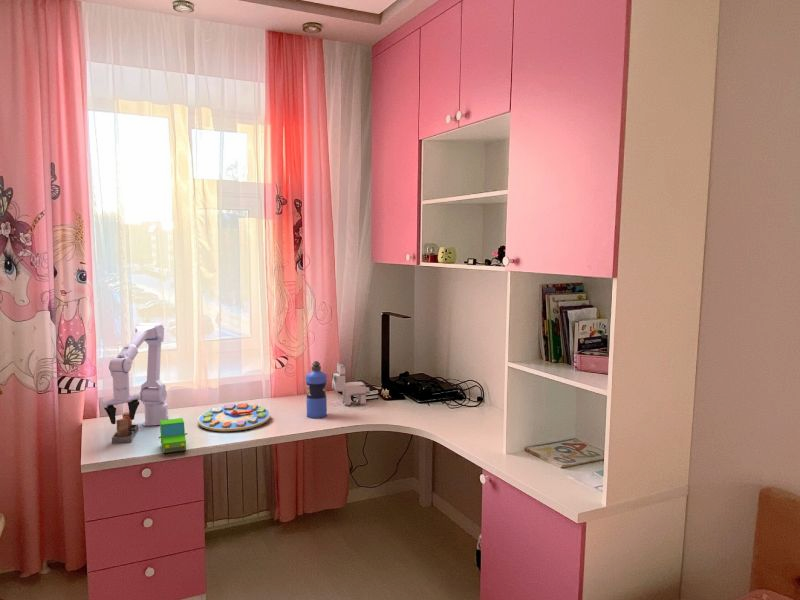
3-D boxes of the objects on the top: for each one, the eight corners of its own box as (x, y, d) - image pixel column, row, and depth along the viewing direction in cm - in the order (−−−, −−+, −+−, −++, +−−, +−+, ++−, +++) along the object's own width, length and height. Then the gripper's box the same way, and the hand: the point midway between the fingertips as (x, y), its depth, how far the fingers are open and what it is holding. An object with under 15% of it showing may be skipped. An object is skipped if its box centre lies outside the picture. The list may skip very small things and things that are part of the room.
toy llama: (370, 404, 296) (370, 363, 294) (335, 407, 291) (334, 365, 289) (367, 400, 303) (367, 361, 301) (332, 403, 298) (332, 363, 297)
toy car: (160, 456, 223) (159, 430, 222) (158, 446, 235) (157, 420, 234) (189, 452, 227) (189, 426, 226) (185, 442, 239) (185, 417, 238)
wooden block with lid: (128, 436, 242) (127, 419, 241) (121, 438, 239) (120, 421, 239) (123, 435, 244) (123, 418, 243) (116, 437, 241) (115, 419, 241)
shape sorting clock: (186, 433, 252) (186, 418, 251) (212, 412, 282) (212, 400, 282) (259, 434, 250) (259, 419, 250) (277, 413, 281) (277, 401, 280)
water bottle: (325, 412, 282) (324, 359, 280) (328, 417, 273) (327, 363, 271) (305, 413, 279) (304, 360, 277) (307, 419, 270) (306, 364, 268)
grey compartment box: (138, 429, 255) (137, 410, 254) (131, 442, 239) (130, 421, 238) (120, 431, 253) (119, 411, 253) (111, 443, 237) (111, 423, 236)
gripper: (133, 383, 247) (134, 415, 249) (97, 389, 236) (99, 424, 237) (142, 385, 243) (144, 418, 245) (107, 392, 232) (108, 427, 233)
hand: (122, 421), depth 241 cm, fingers open, 7 cm apart
